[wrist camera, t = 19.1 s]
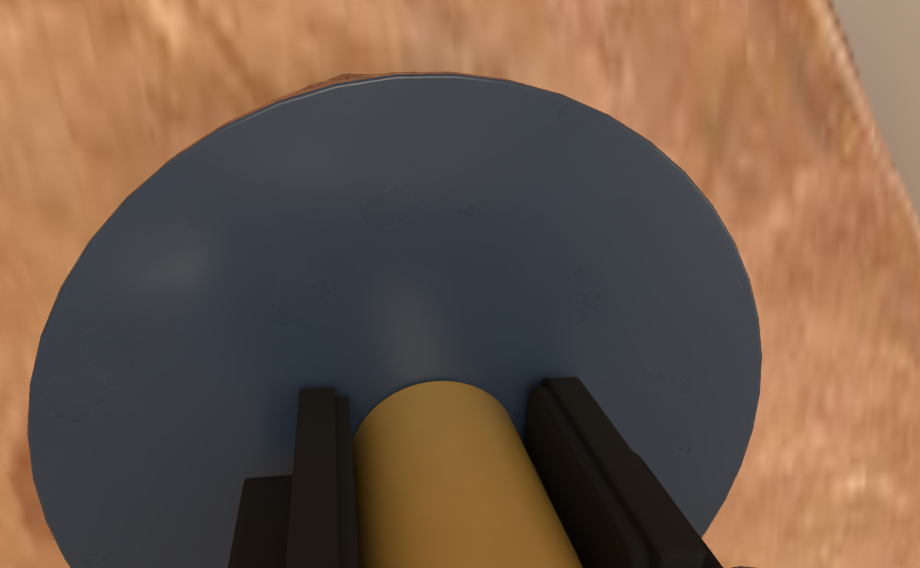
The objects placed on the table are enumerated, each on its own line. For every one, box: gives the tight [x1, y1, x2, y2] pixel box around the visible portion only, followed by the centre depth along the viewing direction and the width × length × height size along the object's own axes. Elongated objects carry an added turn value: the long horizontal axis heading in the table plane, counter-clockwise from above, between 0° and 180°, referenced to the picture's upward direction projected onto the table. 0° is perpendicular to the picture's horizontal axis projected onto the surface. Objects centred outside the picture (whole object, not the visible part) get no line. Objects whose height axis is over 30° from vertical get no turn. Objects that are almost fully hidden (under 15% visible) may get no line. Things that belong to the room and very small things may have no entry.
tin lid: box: [28, 72, 762, 568], centre depth 9 cm, size 12×12×6 cm
